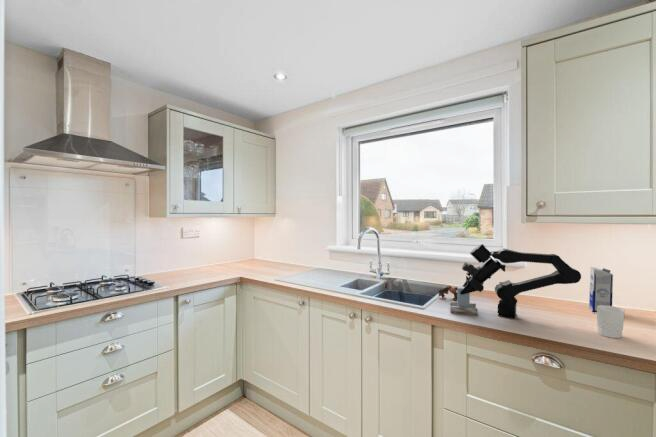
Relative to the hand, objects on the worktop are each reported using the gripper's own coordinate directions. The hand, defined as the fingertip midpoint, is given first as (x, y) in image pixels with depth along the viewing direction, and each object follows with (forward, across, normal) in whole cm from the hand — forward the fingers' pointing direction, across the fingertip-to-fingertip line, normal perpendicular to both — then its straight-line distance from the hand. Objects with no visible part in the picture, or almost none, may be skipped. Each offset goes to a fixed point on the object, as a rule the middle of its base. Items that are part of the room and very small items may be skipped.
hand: (460, 292), depth 149 cm
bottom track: (+5, 0, +7) cm, 9 cm away
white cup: (-30, +11, +43) cm, 53 cm away
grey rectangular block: (+4, 0, +6) cm, 8 cm away
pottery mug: (+9, -18, +4) cm, 21 cm away
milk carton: (-36, -20, +49) cm, 64 cm away
